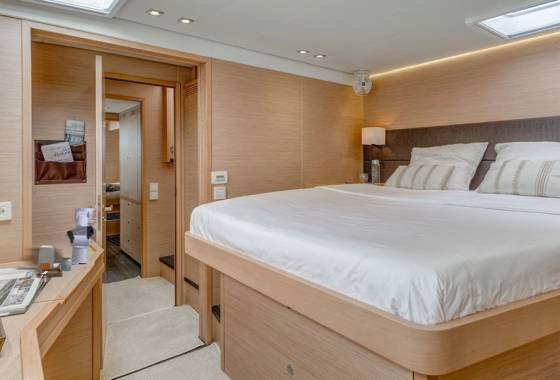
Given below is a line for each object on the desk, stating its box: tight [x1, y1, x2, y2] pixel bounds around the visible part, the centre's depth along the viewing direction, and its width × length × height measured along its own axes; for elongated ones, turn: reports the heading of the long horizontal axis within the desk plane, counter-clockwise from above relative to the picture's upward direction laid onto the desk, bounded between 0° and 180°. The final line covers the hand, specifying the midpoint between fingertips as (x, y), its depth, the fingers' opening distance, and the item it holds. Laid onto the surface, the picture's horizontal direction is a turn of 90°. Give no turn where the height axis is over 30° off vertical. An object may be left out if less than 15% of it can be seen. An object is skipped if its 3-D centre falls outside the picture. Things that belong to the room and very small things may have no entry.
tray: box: [39, 267, 64, 278], centre depth 178 cm, size 9×9×2 cm
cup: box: [60, 257, 73, 272], centre depth 188 cm, size 5×5×6 cm
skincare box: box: [37, 245, 56, 271], centre depth 186 cm, size 6×4×12 cm
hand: (79, 240), depth 185 cm, fingers open, 7 cm apart
